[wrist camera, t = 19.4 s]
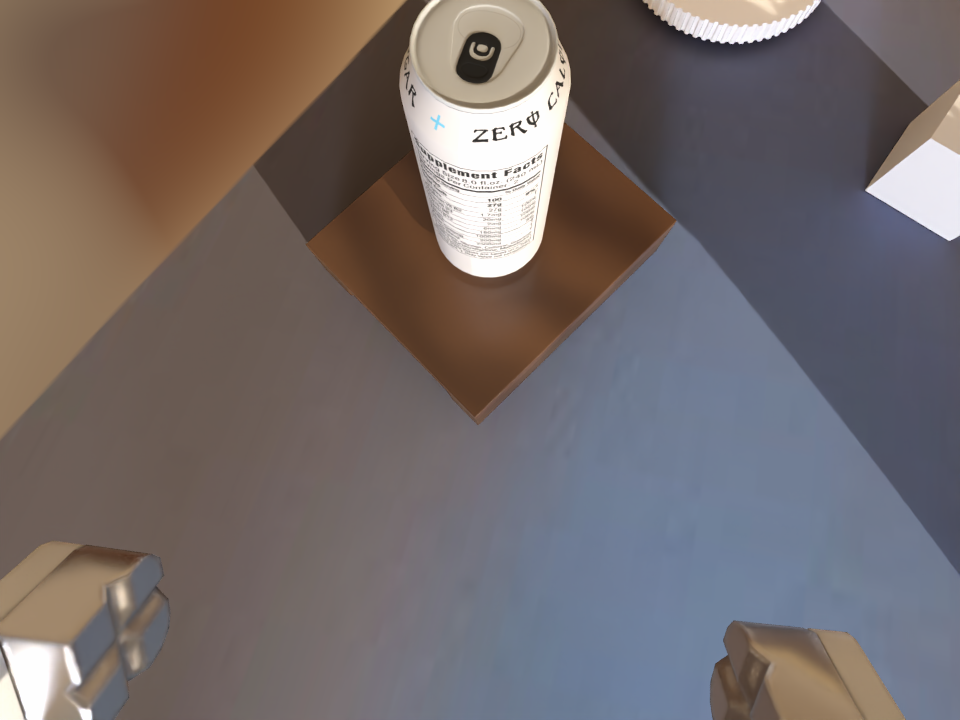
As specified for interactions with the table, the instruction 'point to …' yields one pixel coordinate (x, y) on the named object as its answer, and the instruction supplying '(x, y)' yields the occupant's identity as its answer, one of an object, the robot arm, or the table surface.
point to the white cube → (926, 168)
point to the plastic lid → (733, 17)
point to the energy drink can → (486, 125)
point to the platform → (492, 300)
